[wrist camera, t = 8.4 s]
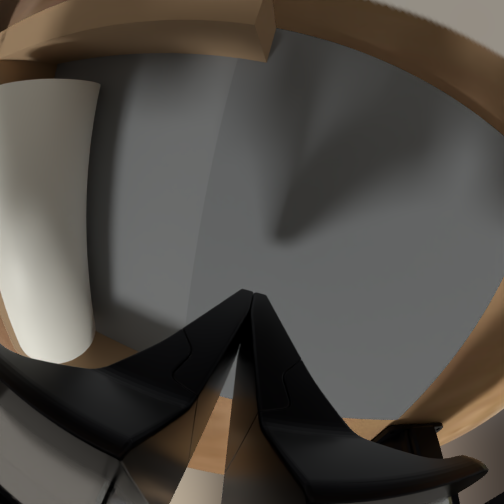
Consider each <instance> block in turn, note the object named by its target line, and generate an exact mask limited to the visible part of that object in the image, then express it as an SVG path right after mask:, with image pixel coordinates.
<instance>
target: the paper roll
mask: <svg viewBox="0 0 504 504" xmlns="http://www.w3.org/2000/svg"><path fill="white" fill-rule="evenodd" d="M100 86H101V85H100V84H99V83H96V82H91V81H85V80H75V79H34V80H24V81H16V82H10V83H5V84H1V85H0V292H1V295H2V298H3V301H4V305H5V308H6V311H7V313H8V316H9V319H10V322H11V325H12V327H13V330H14V332H15V335H16V337H17V340H18V342H19V344H20V347H21V348H22V350H23V351H24V352H25V354H27V355H28V356H29V357H30V358H33V359H37V360H42V361H47V362H52V363H57V364H61V363H65V362H68V361H71V360H73V359H75V358H77V357H79V356H80V355H82V354H83V353H84V352H85V351H86V350H87V349H88V348H89V346H90V345H91V344H92V342H93V339H94V336H95V331H96V329H95V321H94V314H93V308H92V300H91V292H90V282H89V271H88V257H87V234H86V202H87V179H88V165H89V154H90V145H91V137H92V130H93V123H94V117H95V111H96V105H97V100H98V95H99V90H100Z"/></svg>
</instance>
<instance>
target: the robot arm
mask: <svg viewBox="0 0 504 504" xmlns="http://www.w3.org/2000/svg"><path fill="white" fill-rule="evenodd" d="M239 346H240V347H239ZM238 349H239V351H238ZM237 353H238V356H237ZM236 356H237V363H236V372H235V382H234V391H233V400H232V409H231V418H230V427H229V436H228V446H227V455H226V464H225V474H224V483H223V493H222V502H221V504H460V502H459V497H458V493H459V492H460V491H462V490H464V489H465V488H467V487H469V486H470V485H472V484H473V483H475V482H476V481H478V480H479V479H481V478H482V477H483V476H484V475H485V474H486V473H487V472H488V468H487V467H486V465H485V464H483V463H482V462H481V461H479V460H477V459H474V458H471V457H468V456H464V455H461V456H455V457H451V458H446V459H443V456H442V452H441V448H440V445H439V441H438V438H437V434H436V433H437V432H438V431H440V430H441V429H442V428H443V425H442V423H432V424H418V425H394V426H390V427H388V428H387V429H386V430H385V431H383V432H382V433H381V434H380V435H379V436H378V437H376V438H375V439H374V440H373V441H369V440H366V439H364V438H362V437H360V436H358V435H357V434H356V433H354V432H353V431H352V430H351V429H350V428H349V427H348V425H347V424H346V423H345V422H344V420H343V419H342V418H341V416H340V415H339V414H338V413H337V411H336V410H335V409H334V407H333V406H332V405H331V403H330V402H329V401H328V399H327V398H326V397H325V395H324V394H323V392H322V391H321V390H320V388H319V387H318V385H317V384H316V382H315V381H314V379H313V378H312V376H311V374H310V373H309V371H308V369H307V368H306V366H305V364H304V362H303V361H302V359H301V357H300V355H299V353H298V352H297V350H296V348H295V346H294V344H293V343H292V341H291V339H290V337H289V335H288V333H287V332H286V330H285V328H284V326H283V324H282V323H281V321H280V319H279V317H278V315H277V313H276V312H275V310H274V308H273V306H272V304H271V302H270V301H269V299H268V297H267V295H265V294H261V293H257V292H255V293H254V294H253V291H250V290H246V289H240V290H239V291H237V292H236V293H234V294H233V295H231V296H230V297H228V298H227V299H225V300H224V301H222V302H221V303H220V304H218V305H217V306H215V307H214V308H212V309H211V310H209V311H208V312H206V313H205V314H203V315H202V316H200V317H199V318H197V319H196V320H194V321H192V322H191V323H189V324H188V325H186V326H185V327H183V328H182V329H180V330H179V331H177V332H176V333H174V334H172V335H171V336H169V337H167V338H166V339H164V340H162V341H161V342H159V343H157V344H155V345H153V346H151V347H149V348H147V349H145V350H142V351H140V352H138V353H136V354H134V355H131V356H129V357H127V358H125V359H122V360H120V361H118V362H116V363H113V364H111V365H108V366H105V367H102V368H96V369H88V368H80V367H74V366H68V365H62V364H57V363H52V362H47V361H42V360H37V359H33V358H29V357H25V356H22V355H19V354H17V353H14V352H12V351H10V350H8V349H7V348H5V347H4V346H2V345H1V344H0V504H169V503H170V501H171V499H172V497H173V495H174V493H175V491H176V489H177V487H178V485H179V483H180V481H181V478H182V476H183V474H184V472H185V470H186V468H187V466H188V463H189V462H190V459H191V457H192V455H193V453H194V451H195V449H196V446H197V444H198V442H199V440H200V438H201V436H202V433H203V431H204V429H205V427H206V425H207V422H208V420H209V418H210V416H211V413H212V411H213V409H214V407H215V404H216V402H217V400H218V398H219V395H220V393H221V391H222V389H223V386H224V384H225V382H226V379H227V377H228V375H229V372H230V370H231V368H232V365H233V363H234V361H235V358H236ZM485 504H504V492H503V493H502V494H500V495H498V496H496V497H495V498H493V499H491V500H490V501H488V502H486V503H485Z"/></svg>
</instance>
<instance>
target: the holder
mask: <svg viewBox="0 0 504 504" xmlns="http://www.w3.org/2000/svg"><path fill="white" fill-rule="evenodd" d="M34 79H75V80H85V81H91V82H96V83H99V84H100V85H101V86H100V90H99V95H98V100H97V105H96V111H95V117H94V123H93V130H92V137H91V145H90V154H89V165H88V179H87V202H86V234H87V257H88V271H89V282H90V292H91V300H92V308H93V314H94V321H95V329H96V331H95V336H94V339H93V342H92V344H91V345H90V346H89V348H88V349H87V350H86V351H85V352H84V353H83V354H82V355H80V356H79V357H77V358H75V359H73V360H71V361H68V362H65V363H61V364H62V365H68V366H74V367H80V368H88V369H96V368H102V367H105V366H108V365H111V364H113V363H116V362H118V361H120V360H122V359H125V358H127V357H129V356H131V355H134V354H136V353H138V352H140V351H142V350H145V349H147V348H149V347H151V346H153V345H155V344H157V343H159V342H161V341H162V340H164V339H166V338H167V337H169V336H171V335H172V334H174V333H176V332H177V331H179V330H180V329H182V328H183V327H185V326H186V325H188V324H189V323H191V322H192V321H194V320H196V319H197V318H199V317H200V316H202V315H203V314H205V313H206V312H208V311H209V310H211V309H212V308H214V307H215V306H217V305H218V304H220V303H221V302H222V301H224V300H225V299H227V298H228V297H230V296H231V295H233V294H234V293H236V292H237V291H239V290H240V289H246V290H250V291H253V294H254V293H255V292H257V293H261V294H265V295H267V297H268V299H269V301H270V302H271V304H272V306H273V308H274V310H275V312H276V313H277V315H278V317H279V319H280V321H281V323H282V324H283V326H284V328H285V330H286V332H287V333H288V335H289V337H290V339H291V341H292V343H293V344H294V346H295V348H296V350H297V352H298V353H299V355H300V357H301V359H302V361H303V362H304V364H305V366H306V368H307V369H308V371H309V373H310V374H311V376H312V378H313V379H314V381H315V382H316V384H317V385H318V387H319V388H320V390H321V391H322V392H323V394H324V395H325V397H326V398H327V399H328V401H329V402H330V403H331V405H332V406H333V407H334V409H335V410H336V411H337V413H338V414H339V415H340V416H341V417H342V418H356V419H380V420H397V419H398V418H399V417H400V416H401V415H402V414H403V413H405V412H406V411H407V410H408V409H409V408H410V407H411V406H412V405H413V403H414V402H415V401H416V400H417V399H418V398H419V397H420V396H421V395H422V394H423V393H424V392H425V391H426V390H427V389H428V387H429V386H430V385H431V384H432V383H433V382H434V381H435V379H436V378H437V377H438V376H439V375H440V374H441V372H442V371H443V370H444V369H445V367H446V366H447V365H448V364H449V362H450V361H451V360H452V359H453V357H454V356H455V355H456V353H457V352H458V351H459V349H460V348H461V346H462V345H463V344H464V342H465V341H466V339H467V338H468V337H469V335H470V334H471V332H472V331H473V329H474V328H475V326H476V325H477V323H478V321H479V320H480V318H481V317H482V315H483V313H484V312H485V310H486V308H487V307H488V305H489V303H490V301H491V300H492V298H493V296H494V294H495V292H496V291H497V289H498V287H499V285H500V283H501V281H502V279H503V277H504V136H503V135H502V134H501V133H500V132H499V131H497V130H496V129H495V128H494V127H492V126H491V125H490V124H489V123H487V122H486V121H485V120H484V119H482V118H481V117H480V116H478V115H477V114H475V113H474V112H473V111H471V110H470V109H469V108H467V107H466V106H464V105H463V104H461V103H460V102H458V101H457V100H455V99H454V98H452V97H451V96H449V95H447V94H446V93H444V92H443V91H441V90H439V89H438V88H436V87H434V86H432V85H431V84H429V83H427V82H425V81H423V80H422V79H420V78H418V77H416V76H414V75H412V74H410V73H408V72H406V71H404V70H402V69H400V68H398V67H396V66H394V65H391V64H389V63H387V62H385V61H382V60H380V59H378V58H375V57H373V56H370V55H368V54H365V53H363V52H360V51H357V50H355V49H352V48H349V47H346V46H343V45H340V44H337V43H334V42H331V41H327V40H324V39H320V38H317V37H313V36H309V35H305V34H301V33H297V32H293V31H288V30H283V29H278V28H276V21H275V14H274V6H273V0H68V1H65V2H63V3H60V4H58V5H55V6H53V7H50V8H48V9H45V10H43V11H41V12H39V13H36V14H34V15H32V16H30V17H28V18H26V19H24V20H22V21H20V22H18V23H16V24H14V25H13V26H11V27H9V28H7V29H6V30H4V31H2V32H0V85H1V84H5V83H10V82H16V81H24V80H34ZM0 315H1V318H2V321H3V323H4V326H5V328H6V331H7V333H8V336H9V338H10V340H11V343H12V345H13V347H14V349H15V350H16V351H17V352H18V353H20V354H21V355H22V356H25V357H29V356H28V355H27V354H25V352H24V351H23V350H22V348H21V347H20V344H19V342H18V340H17V337H16V335H15V332H14V330H13V327H12V325H11V322H10V319H9V316H8V313H7V311H6V308H5V305H4V301H3V298H2V295H1V292H0ZM239 347H240V346H239ZM238 351H239V349H238ZM237 356H238V353H237ZM237 356H236V358H235V361H234V363H233V365H232V368H231V370H230V372H229V375H228V377H227V379H226V382H225V384H224V386H223V389H222V391H221V393H220V395H219V396H222V397H226V398H229V399H233V391H234V382H235V372H236V363H237ZM29 358H30V357H29Z"/></svg>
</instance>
